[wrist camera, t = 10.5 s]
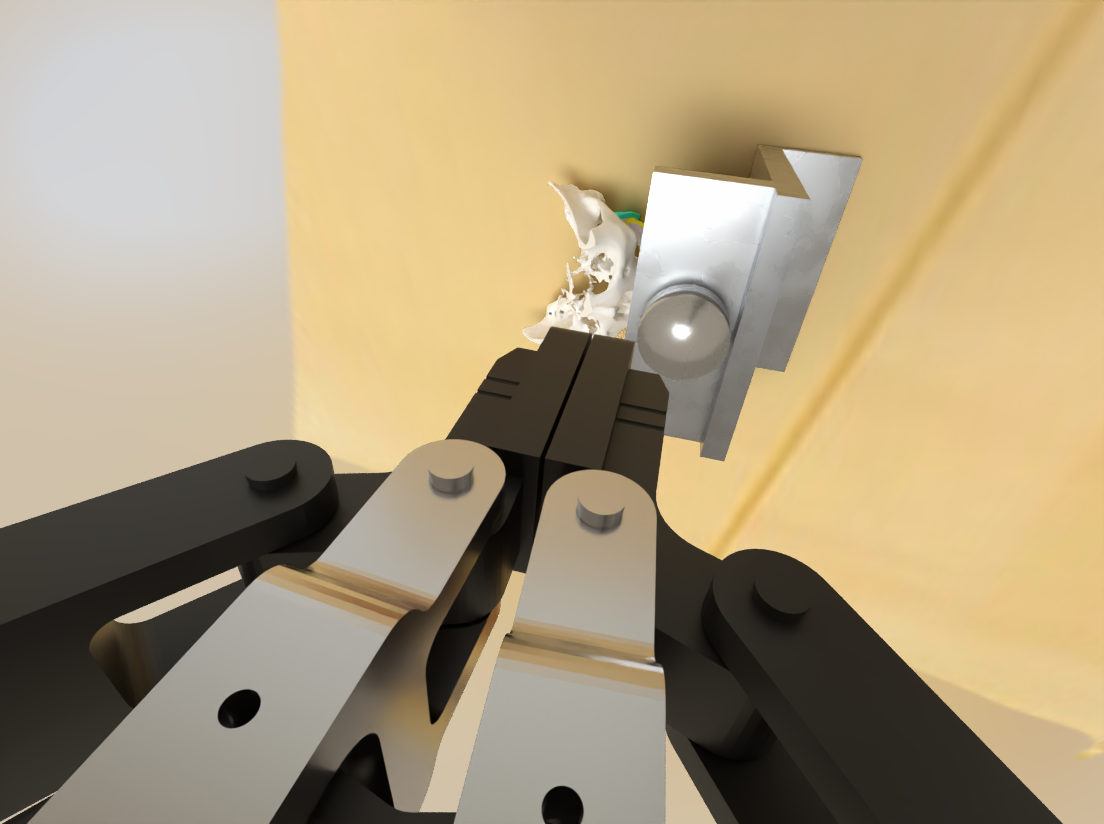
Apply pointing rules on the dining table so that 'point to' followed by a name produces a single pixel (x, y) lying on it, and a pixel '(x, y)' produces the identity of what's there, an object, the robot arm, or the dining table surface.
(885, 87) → the dining table surface
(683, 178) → the bracket
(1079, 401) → the dining table surface
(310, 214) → the dining table surface
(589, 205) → the white irregular lump
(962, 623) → the dining table surface
